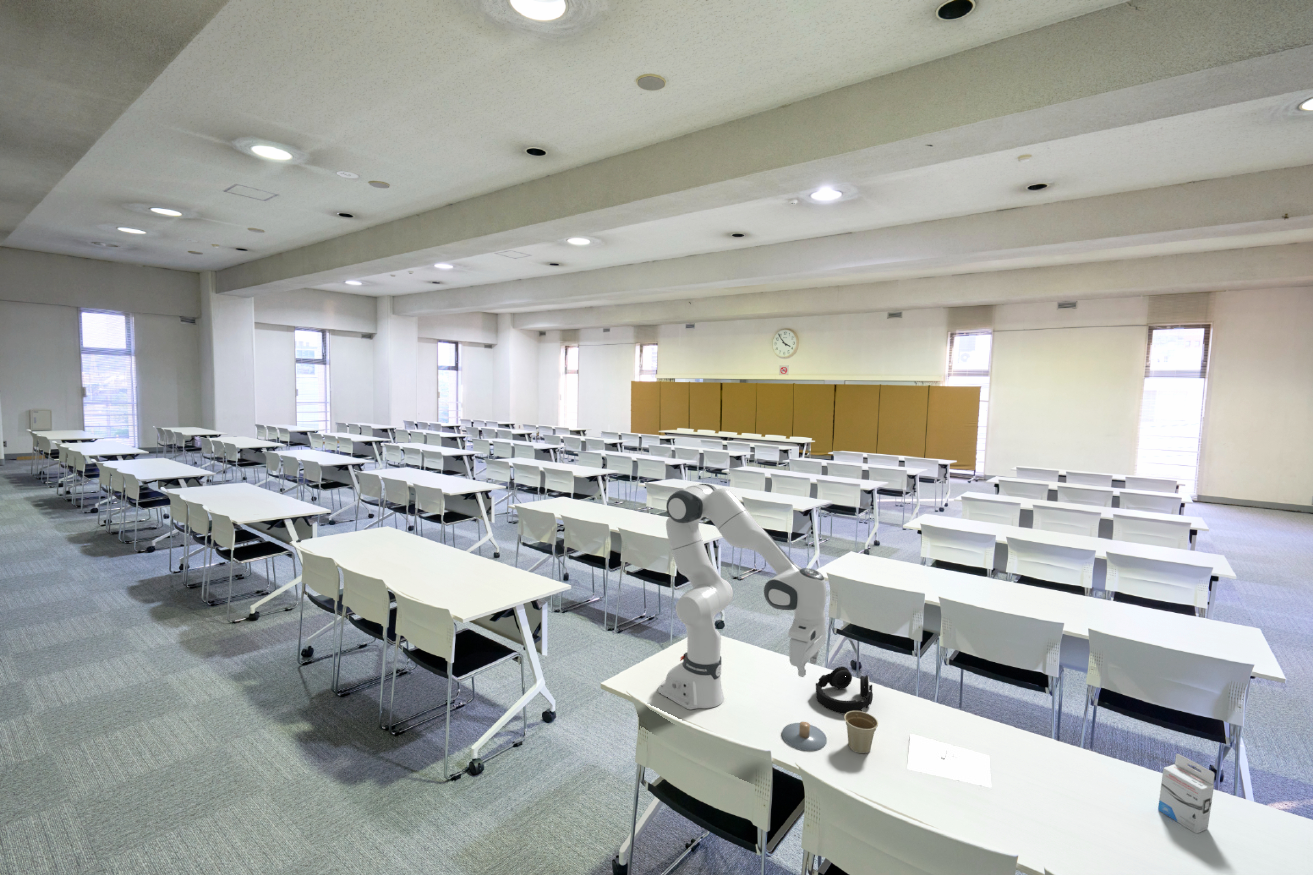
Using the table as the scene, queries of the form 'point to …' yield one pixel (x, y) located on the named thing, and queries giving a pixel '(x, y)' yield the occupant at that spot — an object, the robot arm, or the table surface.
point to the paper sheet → (948, 761)
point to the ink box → (1187, 794)
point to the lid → (804, 736)
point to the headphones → (841, 682)
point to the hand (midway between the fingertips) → (807, 669)
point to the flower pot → (860, 730)
